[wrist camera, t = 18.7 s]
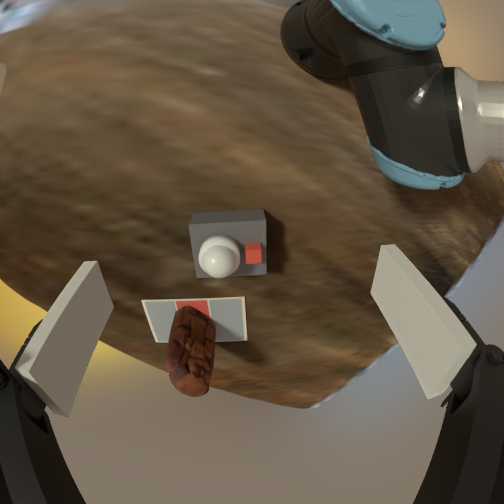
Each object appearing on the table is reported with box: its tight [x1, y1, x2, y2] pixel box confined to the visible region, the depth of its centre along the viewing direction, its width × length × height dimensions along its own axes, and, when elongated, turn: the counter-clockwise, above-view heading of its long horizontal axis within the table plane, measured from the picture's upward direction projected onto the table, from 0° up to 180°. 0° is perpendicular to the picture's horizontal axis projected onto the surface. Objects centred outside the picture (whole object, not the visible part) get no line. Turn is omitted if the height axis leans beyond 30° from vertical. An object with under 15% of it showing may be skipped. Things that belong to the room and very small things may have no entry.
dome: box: [199, 234, 240, 278], centre depth 43 cm, size 6×6×5 cm
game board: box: [141, 297, 247, 342], centre depth 59 cm, size 22×13×1 cm, turn 92°
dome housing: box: [189, 209, 267, 278], centre depth 46 cm, size 12×10×7 cm
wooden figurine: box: [165, 305, 216, 397], centre depth 51 cm, size 12×6×18 cm, turn 41°
